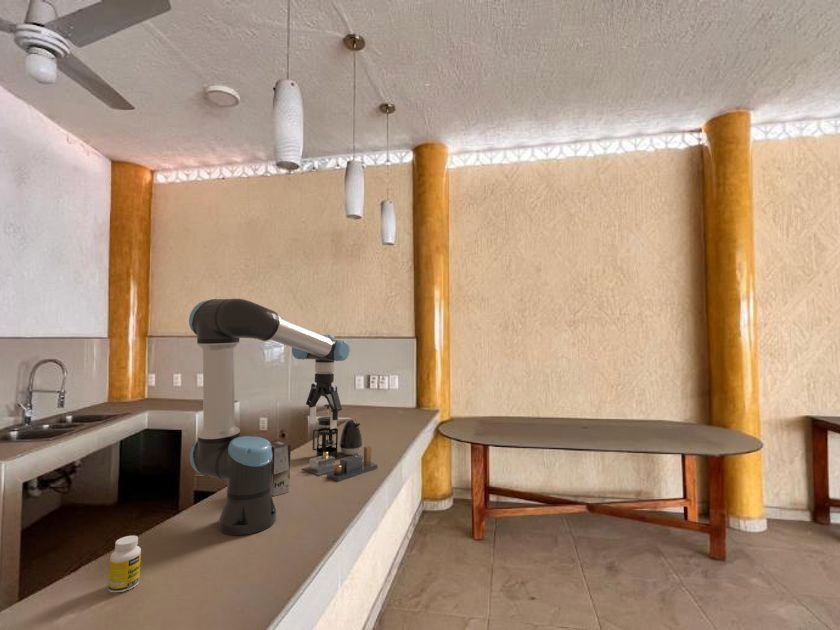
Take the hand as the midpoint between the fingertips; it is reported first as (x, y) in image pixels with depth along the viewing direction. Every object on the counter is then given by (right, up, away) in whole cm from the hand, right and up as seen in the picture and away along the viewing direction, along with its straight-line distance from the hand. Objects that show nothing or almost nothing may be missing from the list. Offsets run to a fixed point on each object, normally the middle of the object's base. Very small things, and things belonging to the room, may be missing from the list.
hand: (322, 425), depth 164 cm
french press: (-2, -18, +15) cm, 24 cm away
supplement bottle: (-24, -14, -77) cm, 81 cm away
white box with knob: (0, -17, 0) cm, 17 cm away
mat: (0, -17, -1) cm, 17 cm away
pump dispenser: (+8, -19, +21) cm, 29 cm away
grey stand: (+13, -17, -4) cm, 22 cm away
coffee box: (-11, -16, -23) cm, 30 cm away
